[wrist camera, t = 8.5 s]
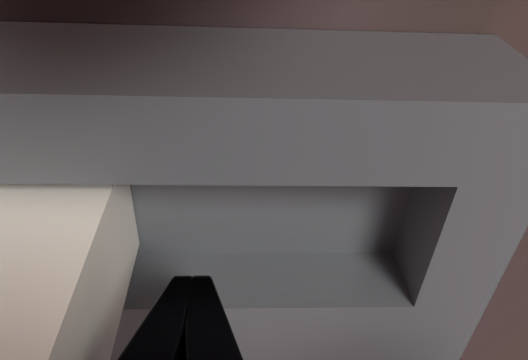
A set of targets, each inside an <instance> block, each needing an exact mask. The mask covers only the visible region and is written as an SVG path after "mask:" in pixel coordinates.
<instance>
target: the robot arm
mask: <svg viewBox="0 0 528 360" xmlns="http://www.w3.org/2000/svg"><path fill="white" fill-rule="evenodd" d="M117 360H243V358H242V355H241V352H240V350H239V347H238V345H237V342H236V339H235V337H234V334H233V331H232V329H231V326H230V324H229V321H228V318H227V316H226V313H225V311H224V308H223V305H222V303H221V300H220V298H219V295H218V292H217V290H216V287H215V285H214V282H213V279H212V278H211V276H208V275H195V276H193V277H192V276H190V275H177V276H174V277H173V278H172V279H171V280H170V282H169V283H168V285H167V286H166V288H165V289H164V291H163V292H162V294H161V295H160V296H159V298H158V299H157V301H156V302H155V304H154V305H153V307H152V308H151V310H150V311H149V313H148V314H147V316H146V317H145V319H144V320H143V322H142V323H141V325H140V326H139V328H138V329H137V331H136V332H135V333H134V335H133V336H132V338H131V339H130V341H129V342H128V344H127V345H126V347H125V348H124V350H123V351H122V353H121V354H120V356H119V357H118V359H117Z"/></svg>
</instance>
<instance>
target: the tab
mask: <svg viewBox="0 0 528 360" xmlns="http://www.w3.org/2000/svg"><path fill="white" fill-rule="evenodd" d="M138 247H139V237H138V231H137V225H136V219H135V213H134V207H133V201H132V195H131V189H130V185H75V184H0V360H110V358H111V354H112V350H113V346H114V343H115V339H116V335H117V331H118V327H119V323H120V319H121V315H122V311H123V307H124V303H125V299H126V295H127V291H128V287H129V283H130V279H131V275H132V271H133V267H134V263H135V259H136V255H137V251H138Z"/></svg>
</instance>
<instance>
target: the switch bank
mask: <svg viewBox="0 0 528 360" xmlns="http://www.w3.org/2000/svg"><path fill="white" fill-rule="evenodd" d="M0 184H75V185H130V189H131V195H132V201H133V207H134V213H135V219H136V225H137V231H138V237H139V247H138V251H137V255H136V259H135V263H134V267H133V271H132V275H131V279H130V283H129V287H128V291H127V295H126V299H125V303H124V307H123V311H122V315H121V319H120V323H119V327H118V331H117V335H116V339H115V343H114V346H113V350H112V354H111V358H110V360H117V359H118V357H119V356H120V354H121V353H122V351H123V350H124V348H125V347H126V345H127V344H128V342H129V341H130V339H131V338H132V336H133V335H134V333H135V332H136V331H137V329H138V328H139V326H140V325H141V323H142V322H143V320H144V319H145V317H146V316H147V314H148V313H149V311H150V310H151V308H152V307H153V305H154V304H155V302H156V301H157V299H158V298H159V296H160V295H161V294H162V292H163V291H164V289H165V288H166V286H167V285H168V283H169V282H170V280H171V279H172V278H173V277H174V276H177V275H190V276H192V277H193V276H195V275H208V276H211V278H212V279H213V282H214V285H215V287H216V290H217V292H218V295H219V298H220V300H221V303H222V305H223V308H224V311H225V313H226V316H227V318H228V321H229V324H230V326H231V329H232V331H233V334H234V337H235V339H236V342H237V345H238V347H239V350H240V352H241V355H242V358H243V360H459V359H460V357H461V355H462V354H463V352H464V350H465V348H466V346H467V344H468V342H469V340H470V338H471V336H472V334H473V332H474V330H475V328H476V326H477V324H478V322H479V320H480V318H481V316H482V315H483V313H484V311H485V309H486V307H487V305H488V303H489V301H490V299H491V297H492V295H493V293H494V291H495V289H496V287H497V285H498V283H499V281H500V279H501V277H502V275H503V274H504V272H505V270H506V268H507V266H508V264H509V262H510V260H511V258H512V256H513V254H514V252H515V250H516V248H517V246H518V244H519V242H520V240H521V238H522V236H523V235H524V233H525V231H526V229H527V227H528V58H526V57H525V56H524V55H522V54H521V53H520V52H518V51H517V50H516V49H514V48H513V47H511V46H510V45H509V44H507V43H506V42H505V41H503V40H502V39H501V38H499V37H498V36H496V35H489V34H452V33H415V32H379V31H342V30H305V29H268V28H231V27H195V26H158V25H121V24H84V23H48V22H11V21H0Z"/></svg>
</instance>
